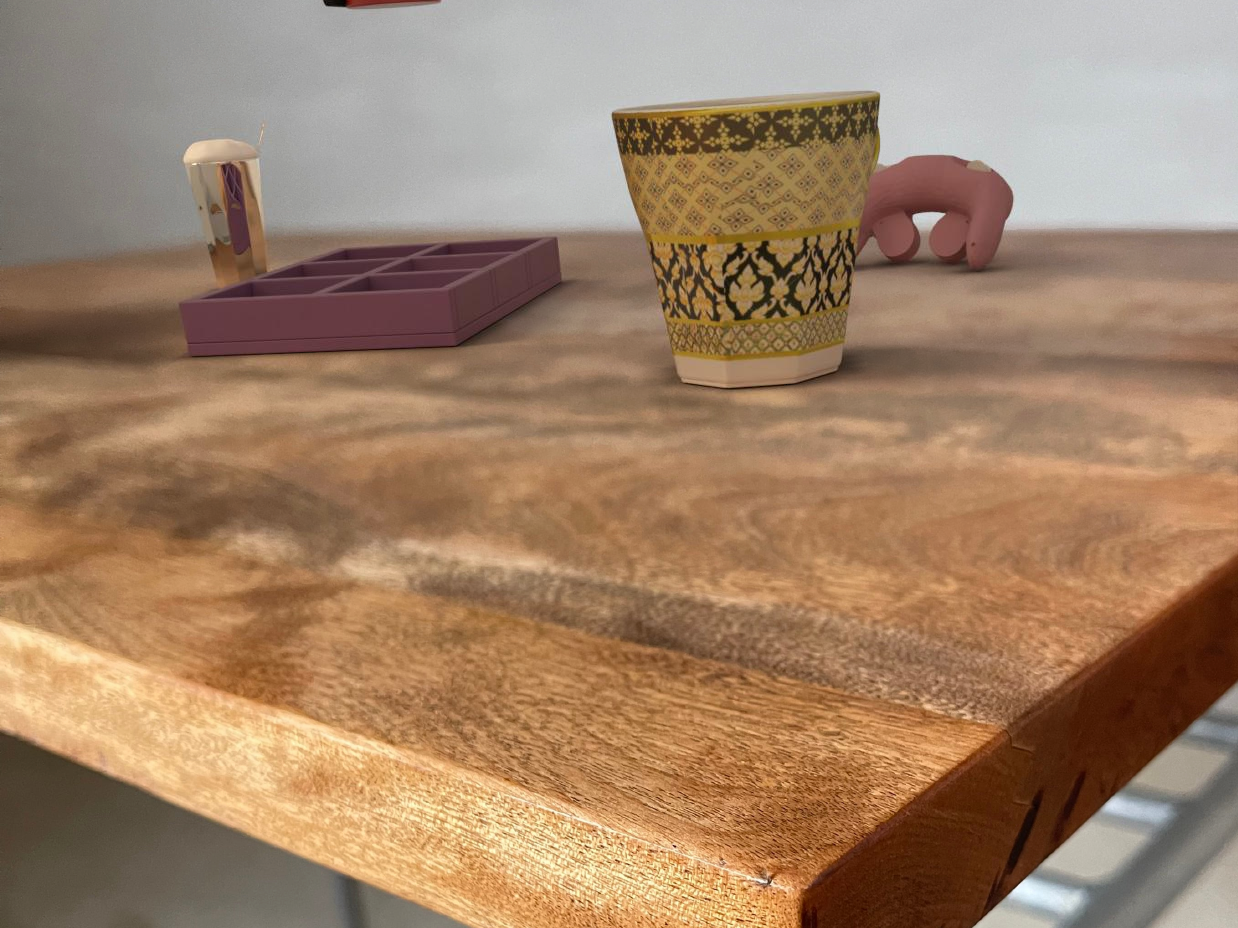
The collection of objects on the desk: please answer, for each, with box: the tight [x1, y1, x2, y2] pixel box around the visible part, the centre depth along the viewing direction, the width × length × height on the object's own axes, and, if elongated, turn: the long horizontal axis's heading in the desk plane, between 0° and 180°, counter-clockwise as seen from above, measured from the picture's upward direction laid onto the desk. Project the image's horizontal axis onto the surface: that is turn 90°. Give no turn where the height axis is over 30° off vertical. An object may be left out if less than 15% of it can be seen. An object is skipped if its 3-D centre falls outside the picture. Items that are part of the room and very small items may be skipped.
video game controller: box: [856, 154, 1015, 272], centre depth 80 cm, size 10×5×7 cm, turn 59°
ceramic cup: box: [610, 90, 881, 389], centre depth 56 cm, size 13×10×10 cm
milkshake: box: [182, 118, 270, 289], centre depth 91 cm, size 4×5×10 cm
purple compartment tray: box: [178, 236, 563, 357], centre depth 77 cm, size 20×14×3 cm
